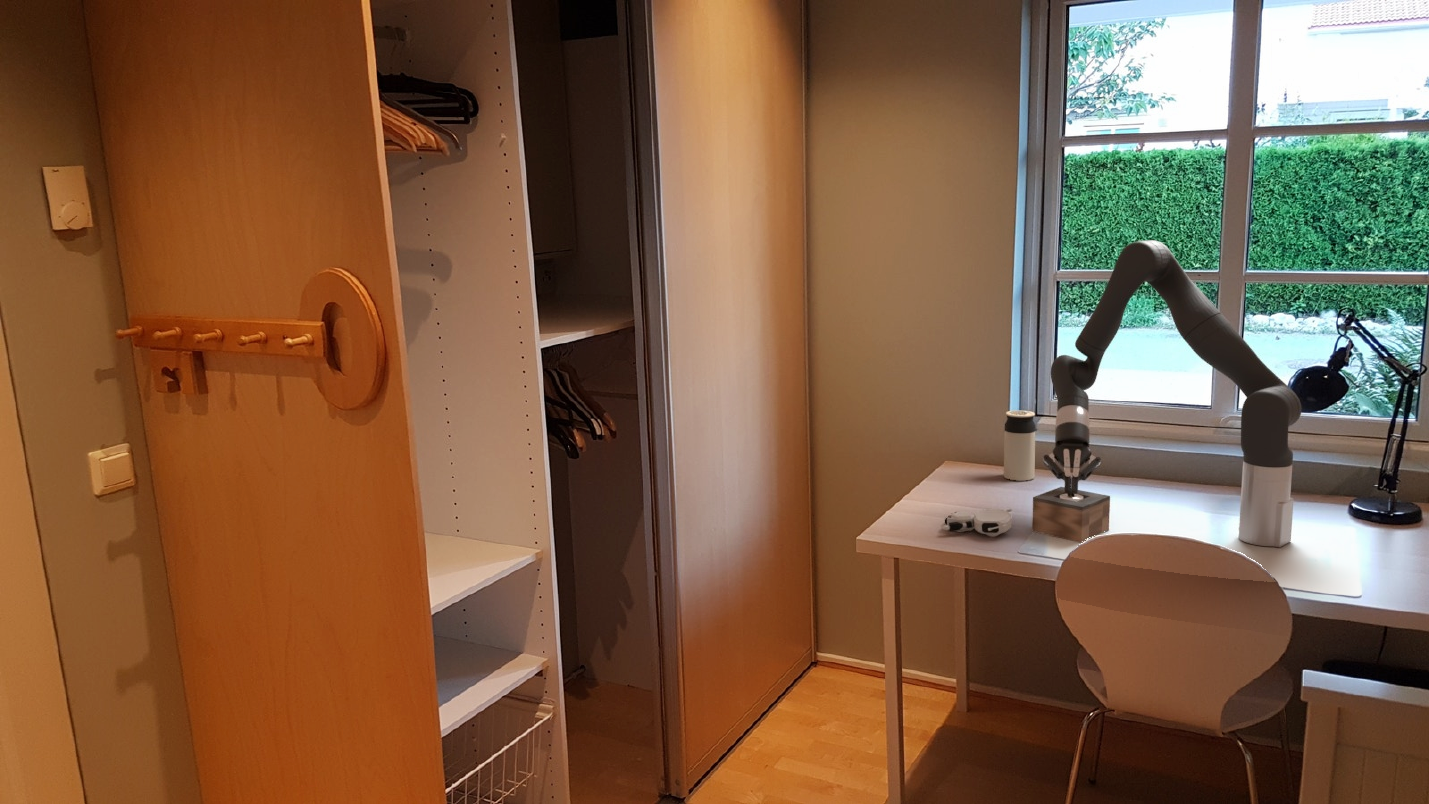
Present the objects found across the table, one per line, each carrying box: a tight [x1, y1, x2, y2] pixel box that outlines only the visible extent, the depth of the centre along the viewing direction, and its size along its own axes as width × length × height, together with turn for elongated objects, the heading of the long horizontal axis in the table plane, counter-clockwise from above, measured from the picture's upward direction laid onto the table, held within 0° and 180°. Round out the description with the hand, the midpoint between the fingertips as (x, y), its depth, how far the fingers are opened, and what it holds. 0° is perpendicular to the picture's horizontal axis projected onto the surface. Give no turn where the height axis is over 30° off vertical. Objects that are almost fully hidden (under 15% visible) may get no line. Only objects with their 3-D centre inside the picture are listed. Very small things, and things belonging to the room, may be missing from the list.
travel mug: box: [1003, 409, 1036, 482], centre depth 275 cm, size 8×8×18 cm
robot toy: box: [941, 508, 1013, 538], centre depth 231 cm, size 12×4×15 cm
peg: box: [1060, 494, 1083, 502], centre depth 229 cm, size 5×5×8 cm
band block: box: [1031, 486, 1111, 543], centre depth 229 cm, size 12×12×8 cm
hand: (1071, 494), depth 228 cm, fingers closed
